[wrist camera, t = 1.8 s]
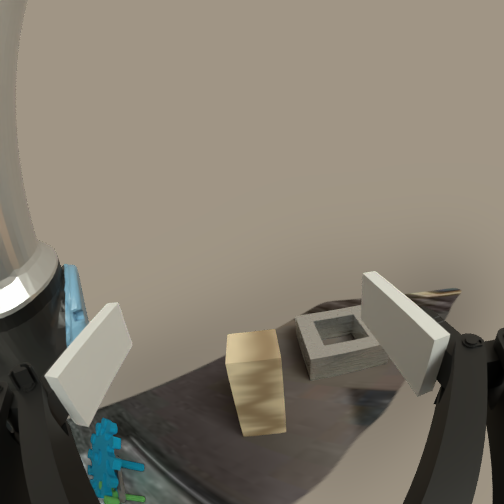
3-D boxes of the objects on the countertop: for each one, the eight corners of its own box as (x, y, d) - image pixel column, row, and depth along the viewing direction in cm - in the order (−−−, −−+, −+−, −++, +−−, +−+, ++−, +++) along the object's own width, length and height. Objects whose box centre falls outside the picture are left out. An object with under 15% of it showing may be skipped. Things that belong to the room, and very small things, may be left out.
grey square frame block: (310, 380, 35) (310, 359, 34) (296, 335, 46) (295, 316, 45) (387, 362, 35) (391, 341, 34) (359, 324, 46) (361, 305, 45)
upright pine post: (243, 436, 27) (225, 363, 23) (243, 407, 31) (227, 334, 28) (286, 432, 27) (280, 357, 23) (281, 403, 31) (275, 328, 28)
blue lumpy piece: (81, 437, 23) (105, 400, 22) (122, 449, 26) (153, 415, 25) (87, 512, 13) (113, 492, 13) (136, 519, 16) (174, 499, 16)
